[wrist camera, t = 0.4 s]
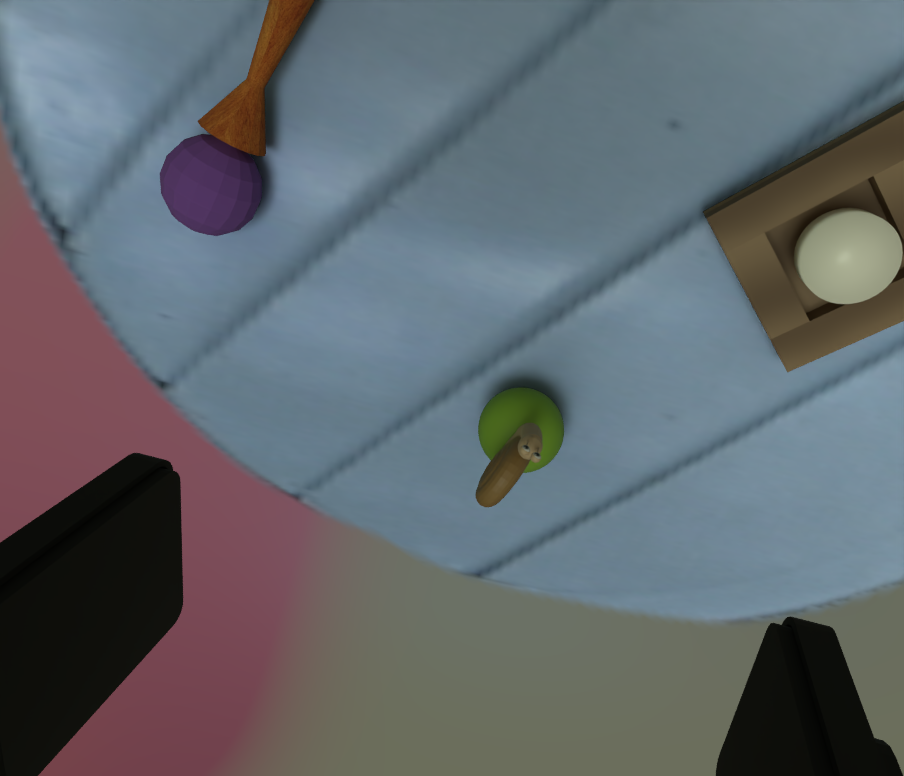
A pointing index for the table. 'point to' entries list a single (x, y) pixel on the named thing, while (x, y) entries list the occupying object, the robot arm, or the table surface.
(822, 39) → the table surface
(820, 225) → the cream button
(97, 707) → the robot arm
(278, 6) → the purple and brown maraca
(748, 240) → the button panel
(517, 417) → the snail figurine
